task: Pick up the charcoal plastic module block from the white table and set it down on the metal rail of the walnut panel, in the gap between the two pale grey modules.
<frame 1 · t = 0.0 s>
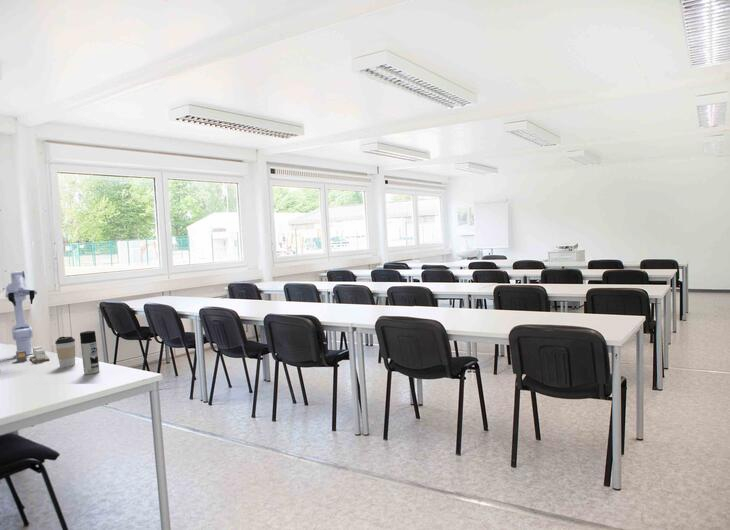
hand: (23, 303, 292), 32 cm above the table, tool tilted 50°, fingers open, 7 cm apart
coffee cup: (67, 366, 276), on the table
spray can: (91, 373, 256), on the table
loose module: (21, 360, 298), on the table
rail panel: (39, 359, 298), on the table
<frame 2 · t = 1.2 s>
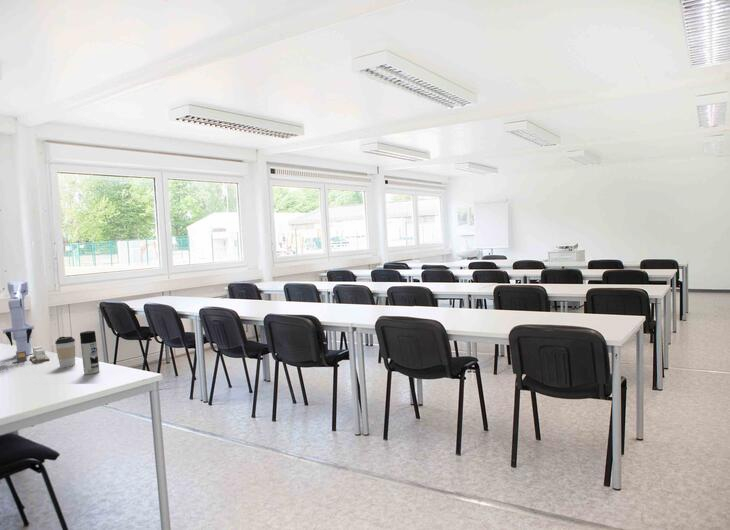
hand: (20, 344, 297), 9 cm above the table, tool pointing down, fingers open, 7 cm apart
nothing on the table moved.
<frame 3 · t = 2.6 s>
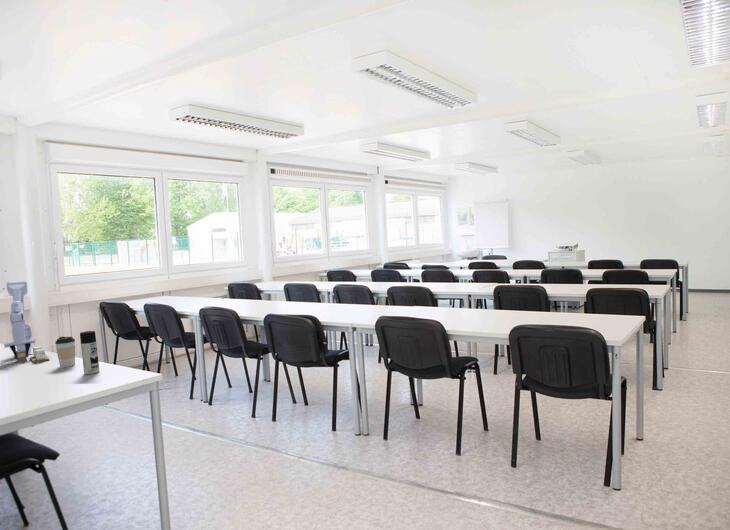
hand: (21, 357, 298), 2 cm above the table, tool pointing down, fingers closed on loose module, 4 cm apart
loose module: (21, 360, 298), on the table, touching gripper
everything else where it was.
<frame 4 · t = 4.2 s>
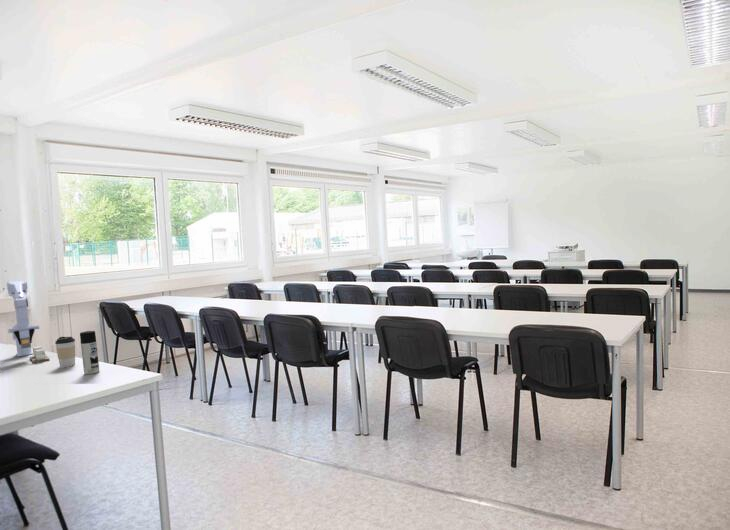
hand: (25, 343, 297), 9 cm above the table, tool pointing down, fingers closed on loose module, 4 cm apart
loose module: (25, 347, 297), point 7 cm above the table, touching gripper
everything else where it was.
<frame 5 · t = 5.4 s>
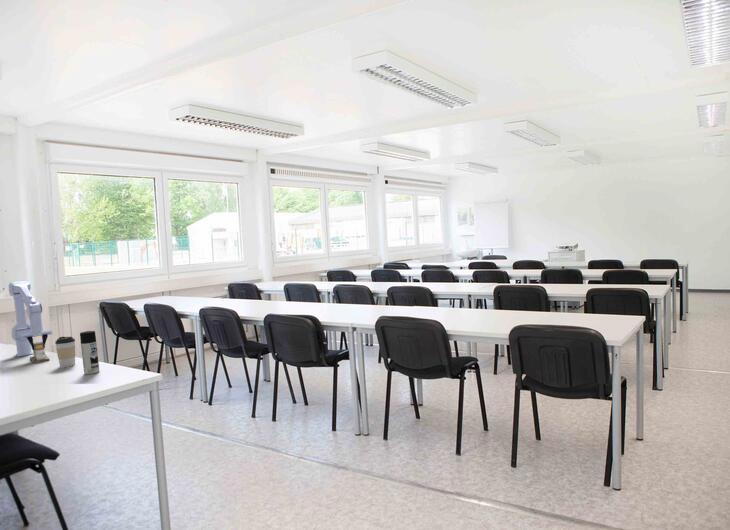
hand: (38, 349, 297), 6 cm above the table, tool pointing down, fingers closed on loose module, 4 cm apart
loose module: (39, 352, 297), point 4 cm above the table, touching gripper
everything else where it was.
when the fingers open (5 cm above the table, at t = 6.2 s): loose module stays where it is, resting on rail panel.
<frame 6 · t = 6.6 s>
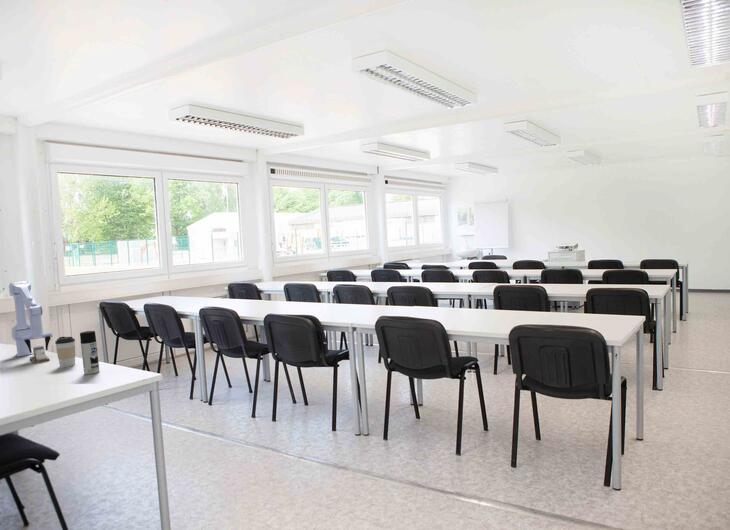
hand: (38, 351, 297), 5 cm above the table, tool pointing down, fingers open, 7 cm apart
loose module: (39, 356, 298), point 2 cm above the table, touching rail panel
everything else where it was.
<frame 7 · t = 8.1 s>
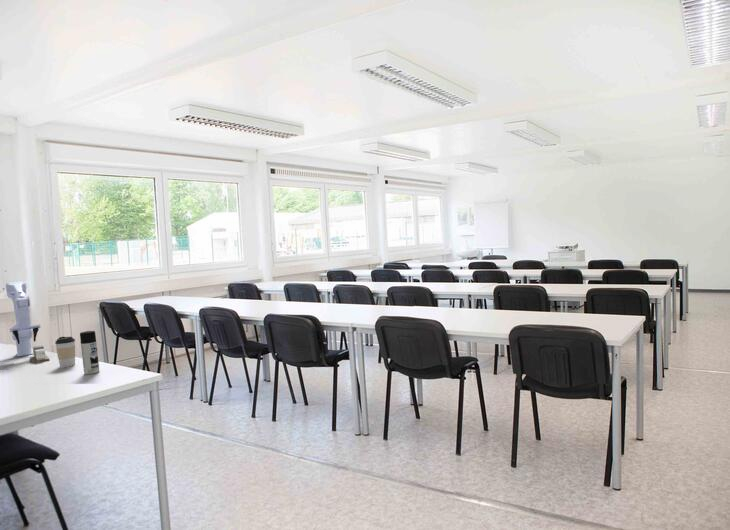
hand: (26, 342, 302), 9 cm above the table, tool pointing down, fingers open, 7 cm apart
nothing on the table moved.
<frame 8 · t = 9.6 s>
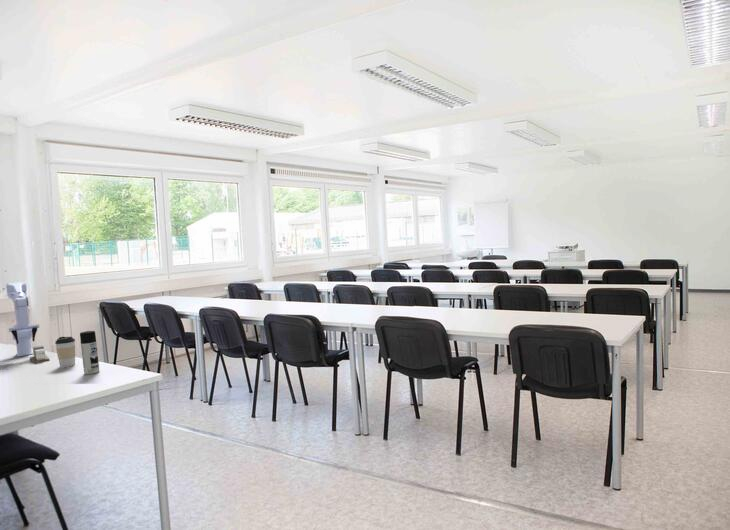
hand: (25, 342, 302), 9 cm above the table, tool pointing down, fingers open, 7 cm apart
nothing on the table moved.
at the end: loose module 0.2 cm off-centre on the rail panel, point 1.7 cm above the rail panel's base; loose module tilted 0°; the gripper is holding nothing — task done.
